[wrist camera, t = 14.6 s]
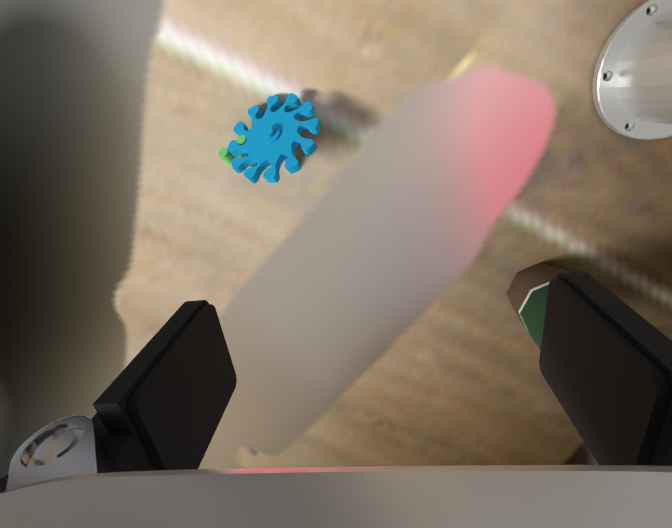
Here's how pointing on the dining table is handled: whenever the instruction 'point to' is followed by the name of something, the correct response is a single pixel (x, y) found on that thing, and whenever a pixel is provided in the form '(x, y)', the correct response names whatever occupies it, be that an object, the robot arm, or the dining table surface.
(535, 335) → the beer bottle
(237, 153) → the gear
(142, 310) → the dining table surface
